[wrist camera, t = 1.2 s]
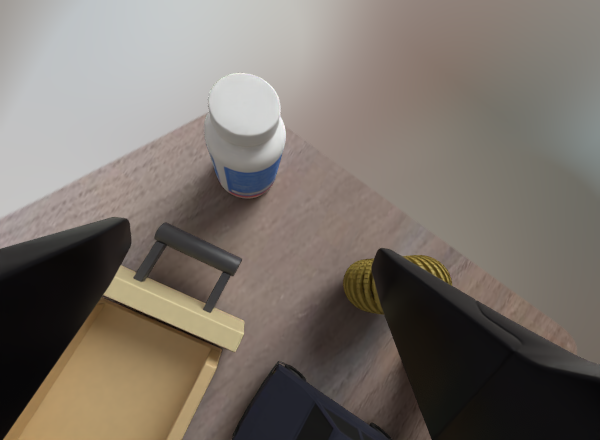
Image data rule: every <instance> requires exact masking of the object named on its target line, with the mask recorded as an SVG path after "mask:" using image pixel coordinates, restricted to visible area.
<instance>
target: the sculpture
mask: <svg viewBox="0 0 600 440" xmlns="http://www.w3.org/2000/svg"><path fill="white" fill-rule="evenodd" d="M402 257H404V258H406V259H407V260H409V261H411V262H412V263H414V264H416V265H418V266H419V267H421V268H423V269H424V270H426V271H428V272H429V273H431V274H433V275H435V276H436V277H438V278H440V279H441V280H443V281H445V282H446V283H448V284H450V285H451V286H452V280H451V277H450V274H449V272H447V271H448V270H446V268H445V266H444V265H442V264H441V263H440V262H439V261H437V260H436V259H434V258H432V257H428V256H423V255H412V256H402ZM373 260H374V259H365V260H360V261H357V262H355V263H354V264H352V265H351V266H350V267H349V268H348V270H347V271H346V273H345V275H344V279H343V286H344V291H345V295H346V296H347V297H348V299H349V301H350V302H351V303H352V304H353V305H354V306H356V307H357V308H359V309H361V310H363V311H366V312H370V313H375V314H376V313H377V314H382V315H384V313H383V310H382V307H381V304H380V301H379V297H378V294H377V290H376V286H375V282H374V279H373V277H372V270H371V266H372V263H373ZM362 283H363V284H362ZM364 288H365V289H364ZM363 289H364V290H363ZM370 291H372V294H371V292H370ZM364 292H365V293H364ZM372 295H373V296H372ZM373 297H374V298H373Z"/></svg>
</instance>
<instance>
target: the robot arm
mask: <svg viewBox="0 0 600 440" xmlns="http://www.w3.org/2000/svg"><path fill="white" fill-rule="evenodd" d="M130 246H131V231H130V223H129V221H128V220H127V219H126V218H118V217H111V218H108V219H104V220H101V221H97V222H94V223H90V224H87V225H83V226H80V227H76V228H72V229H69V230H65V231H62V232H58V233H55V234H51V235H48V236H44V237H41V238H37V239H33V240H30V241H26V242H23V243H19V244H16V245H12V246H9V247H5V248H2V249H0V440H3V439H4V438H5V437H6V435H7V434H8V432H9V431H10V429H11V428H12V426H13V425H14V424H15V422H16V421H17V419H18V418H19V416H20V415H21V413H22V412H23V411H24V409H25V408H26V406H27V405H28V403H29V402H30V400H31V399H32V398H33V396H34V395H35V393H36V392H37V390H38V389H39V387H40V386H41V384H42V383H43V382H44V380H45V379H46V377H47V376H48V374H49V373H50V371H51V370H52V369H53V367H54V366H55V364H56V363H57V361H58V360H59V358H60V357H61V356H62V354H63V353H64V351H65V350H66V348H67V347H68V345H69V344H70V342H71V341H72V340H73V338H74V337H75V335H76V334H77V332H78V331H79V329H80V328H81V327H82V325H83V324H84V322H85V321H86V319H87V318H88V316H89V315H90V314H91V312H92V311H93V309H94V308H95V306H96V305H97V303H98V302H99V300H100V299H101V298H102V296H103V295H104V293H105V292H106V290H107V289H108V287H109V286H110V284H111V282H112V281H113V279H114V277H115V275H116V273H117V271H118V269H119V267H120V265H121V264H122V262H123V260H124V258H125V256H126V254H127V252H128V250H129V248H130ZM371 270H372V275H373V278H374V282H375V286H376V290H377V294H378V297H379V301H380V304H381V307H382V310H383V313H384V315H385V318H386V320H387V323H388V326H389V328H390V331H391V334H392V336H393V339H394V342H395V344H396V347H397V349H398V352H399V355H400V357H401V360H402V363H403V365H404V368H405V371H406V373H407V376H408V378H409V381H410V384H411V386H412V389H413V392H414V394H415V397H416V399H417V402H418V405H419V407H420V410H421V413H422V415H423V418H424V421H425V423H426V426H427V428H428V431H429V434H430V436H431V439H432V440H600V365H599V364H596V363H593V362H590V361H588V360H586V359H583V358H581V357H578V356H577V355H575V354H573V353H571V352H569V351H567V350H565V349H563V348H561V347H560V346H558V345H556V344H554V343H552V342H550V341H548V340H547V339H545V338H543V337H541V336H539V335H537V334H536V333H534V332H532V331H530V330H528V329H526V328H524V327H523V326H521V325H519V324H517V323H515V322H514V321H512V320H510V319H508V318H506V317H505V316H503V315H501V314H499V313H498V312H496V311H494V310H492V309H491V308H489V307H487V306H486V305H484V304H482V303H480V302H479V301H475V299H474V298H472V297H470V296H468V295H467V294H465V293H463V292H462V291H460V290H458V289H457V288H455V287H453V286H451V285H450V284H448V283H446V282H445V281H443V280H441V279H440V278H438V277H436V276H435V275H433V274H431V273H429V272H428V271H426V270H424V269H423V268H421V267H419V266H418V265H416V264H414V263H412V262H411V261H409V260H407V259H406V258H404V257H402V256H401V255H399V254H397V253H396V252H394V251H392V250H390V249H385V248H380V249H379V250H378V251H377V253H376V256H375V258H374V260H373V263H372V266H371Z"/></svg>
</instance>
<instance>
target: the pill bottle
mask: <svg viewBox="0 0 600 440" xmlns="http://www.w3.org/2000/svg"><path fill="white" fill-rule="evenodd" d="M208 107H209V112H208V114H207V116H206V118H205V122H204V137H205V141H206V145H207V148H208V151H209V154H210V157H211V160H212V164H213V166H214V170H215V173H216V175H217V178H218V180H219V182H220V184H221V185H222V187H223V188H224V189H225V190H226V191H227V192H229V193H230V194H232V195H234V196H236V197H240V198H255V197H258V196H260V195H262V194H264V193H265V192H267V191H268V190H269V189H270V187H271V186H272V184H273V183H274V180H275V178H276V174H277V170H278V167H279V163H280V160H281V156H282V153H283V149H284V145H285V140H286V131H285V126H284V123H283V121H282V118H281V117H280V101H279V98H278V95H277V93H276V92H275V90H274V89H273V88H272V86H271V85H270V84H268V83H267V82H266V81H265V80H263V79H261V78H259V77H257V76H255V75H252V74H247V73H234V74H230V75H227V76H224V77H223V78H221V79H219V80H218V81H217V82H216V83H215V84H214V85H213V87H212V88H211V91H210V93H209V97H208Z"/></svg>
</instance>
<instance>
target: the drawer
mask: <svg viewBox="0 0 600 440" xmlns="http://www.w3.org/2000/svg"><path fill="white" fill-rule="evenodd" d="M155 240H157V241H156V243H155V244H154V246H153V247H152V249H151V250H150V252H149V254H148V255H147V257H146V258H145V260H144V261H143V263H142V265H141V266H140V268H139V269H138V271H137V272H135V271H132V270H130V269H128V268H126V267H124V266H121V265H120V267H119V269H118V271H117V273H116V275H115V277H114V279H113V281H112V282H111V284H110V286H109V287H108V289H107V290H106V292H105V293H104V296H106V297H108V298H111V299H113V300H115V301H118V302H120V303H122V304H125V305H127V306H129V307H131V308H134V309H136V310H138V311H141V312H143V313H145V314H148V315H150V316H152V317H154V318H157V319H159V320H161V321H164V322H166V323H168V324H171V325H173V326H175V327H177V328H180V329H182V330H184V331H187V332H189V333H191V334H194V335H196V336H198V337H200V338H203V339H205V340H207V341H210V342H212V343H214V344H216V345H219V346H221V347H223V348H226V349H228V350H230V351H233V352H236V350H237V348H238V346H239V344H240V342H241V340H242V337H243V335H244V321H243V320H241V319H239V318H237V317H234V316H232V315H230V314H228V313H225V312H223V311H221V310H219V309H217V308H214V307H215V305H216V303H217V301H218V299H219V297H220V295H221V293H222V291H223V289H224V288H225V286H226V284H227V282H228V280H229V278H230V276H234V274H235V273H236V271H237V269H238V267H239V265H240V263H241V261H242V259H241V258H239V257H237V256H235V255H233V254H231V253H229V252H227V251H225V250H223V249H221V248H219V247H216V246H214V245H212V244H210V243H208V242H206V241H204V240H202V239H200V238H198V237H196V236H194V235H191V234H189V233H187V232H185V231H183V230H181V229H179V228H177V227H175V226H173V225H171V224H169V223H163V224H162V225H161V226H160V227H159V228H158V230H157V232H156V234H155ZM166 246H169V247H172V248H174V249H176V250H178V251H180V252H182V253H184V254H186V255H189V256H191V257H193V258H195V259H197V260H199V261H201V262H203V263H206V264H208V265H210V266H212V267H214V268H216V269H218V270H220V271H223V273H222V274H221V276H220V278H219V280H218V282H217V284H216V286H215V287H214V289H213V291H212V293H211V295H210V297H209V299H208V300H207V302H206V303H203V302H201V301H199V300H197V299H194V298H192V297H190V296H188V295H186V294H183V293H181V292H179V291H177V290H175V289H172V288H170V287H168V286H166V285H163V284H161V283H159V282H157V281H155V280H152V279H150V278H148V275H149V273H150V272H151V270H152V269H153V267H154V265H155V264H156V262H157V260H158V259H159V257H160V256H161V254H162V252H163V251H164V249H165V248H166ZM221 352H222V349H220V348H218V347H216V346H213V345H211V344H209V343H206V342H204V341H202V340H199V339H197V338H195V337H192V336H190V335H188V334H186V333H183V332H181V331H179V330H176V329H174V328H172V327H169V326H167V325H165V324H163V323H160V322H158V321H156V320H153V319H151V318H149V317H146V316H144V315H142V314H139V313H137V312H135V311H133V310H130V309H128V308H126V307H123V306H121V305H119V304H116V303H114V302H112V301H110V300H107V299H105V298H103V297H102V298H101V299H100V300H99V302H98V303H97V305H96V306H95V308H94V309H93V311H92V312H91V314H90V315H89V316H88V318H87V319H86V321H85V322H84V324H83V325H82V327H81V328H80V329H79V331H78V332H77V334H76V335H75V337H74V338H73V340H72V341H71V342H70V344H69V345H68V347H67V348H66V350H65V351H64V353H63V354H62V356H61V357H60V358H59V360H58V361H57V363H56V364H55V366H54V367H53V369H52V370H51V371H50V373H49V374H48V376H47V377H46V379H45V380H44V382H43V383H42V384H41V386H40V387H39V389H38V390H37V392H36V393H35V395H34V396H33V398H32V399H31V400H30V402H29V403H28V405H27V406H26V408H25V409H24V411H23V412H22V413H21V415H20V416H19V418H18V419H17V421H16V422H15V424H14V425H13V426H12V428H11V429H10V431H9V432H8V434H7V435H6V437H5V438H4V439H3V440H182V438H183V436H184V434H185V432H186V430H187V428H188V426H189V424H190V422H191V420H192V418H193V416H194V414H195V412H196V410H197V408H198V406H199V404H200V402H201V400H202V398H203V395H204V393H205V391H206V389H207V387H208V385H209V383H210V381H211V379H212V377H213V375H214V373H215V371H216V369H217V365H218V362H219V358H220V355H221Z"/></svg>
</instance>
